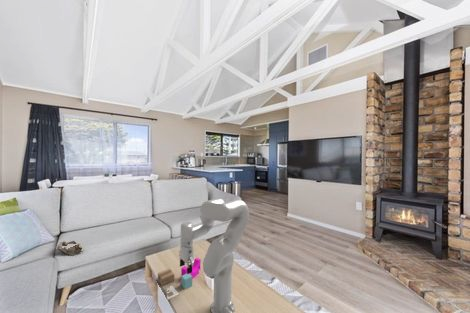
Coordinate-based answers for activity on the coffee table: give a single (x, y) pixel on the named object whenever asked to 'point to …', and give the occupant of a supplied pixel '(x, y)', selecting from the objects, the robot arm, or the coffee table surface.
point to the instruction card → (171, 292)
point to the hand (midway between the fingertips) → (185, 269)
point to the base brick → (165, 277)
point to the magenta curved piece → (194, 269)
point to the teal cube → (186, 281)
